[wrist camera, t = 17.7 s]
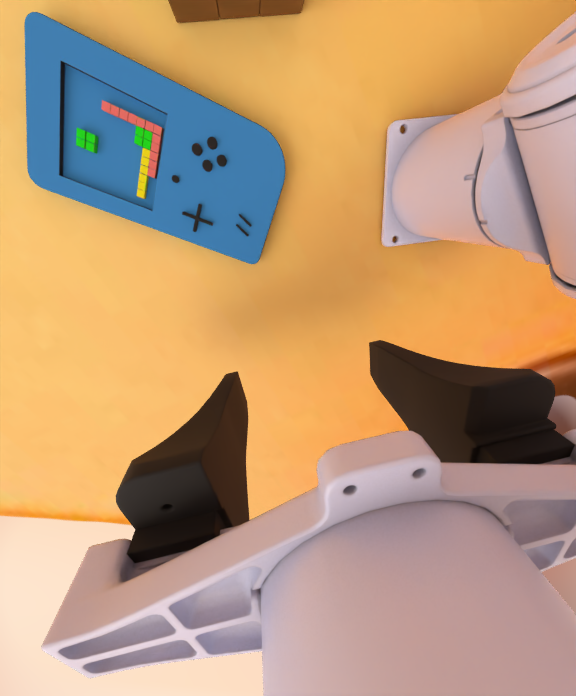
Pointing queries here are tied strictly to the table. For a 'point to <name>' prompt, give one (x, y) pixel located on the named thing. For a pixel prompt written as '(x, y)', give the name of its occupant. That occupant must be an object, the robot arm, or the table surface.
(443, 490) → the robot arm
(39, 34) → the handheld gaming device
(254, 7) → the brown block with hole
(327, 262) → the table surface
